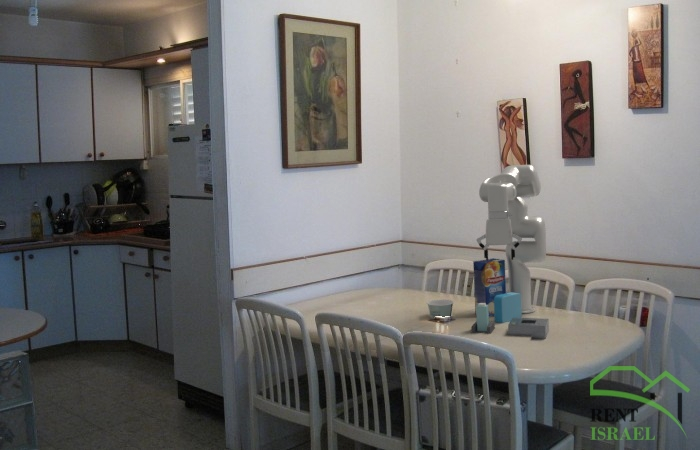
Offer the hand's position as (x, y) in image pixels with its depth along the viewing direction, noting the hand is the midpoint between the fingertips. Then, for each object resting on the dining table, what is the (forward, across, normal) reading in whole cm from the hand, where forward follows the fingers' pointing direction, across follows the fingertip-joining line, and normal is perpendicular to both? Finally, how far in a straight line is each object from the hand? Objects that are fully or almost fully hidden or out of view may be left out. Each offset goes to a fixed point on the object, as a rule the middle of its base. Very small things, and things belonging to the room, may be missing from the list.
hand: (499, 259), depth 284 cm
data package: (+30, -2, -23) cm, 38 cm away
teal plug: (+29, +8, -6) cm, 31 cm away
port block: (+30, -10, -3) cm, 32 cm away
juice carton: (+30, +5, -40) cm, 50 cm away
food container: (+30, +27, -35) cm, 54 cm away
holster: (+30, +8, -6) cm, 32 cm away
